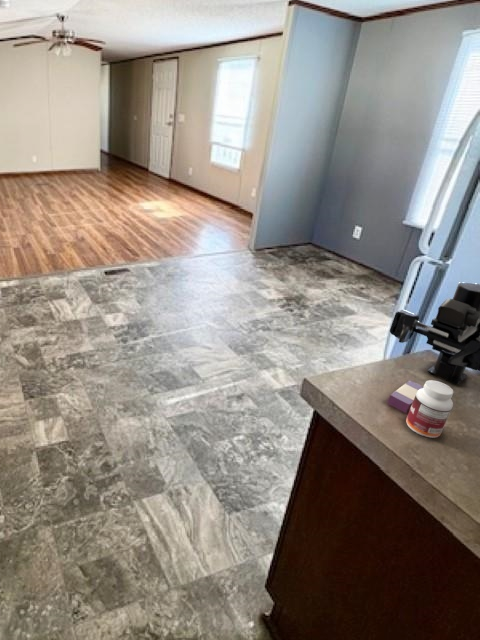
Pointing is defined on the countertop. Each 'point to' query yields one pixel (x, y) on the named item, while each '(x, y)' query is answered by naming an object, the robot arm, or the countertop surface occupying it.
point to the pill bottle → (430, 409)
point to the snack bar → (404, 396)
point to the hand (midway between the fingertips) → (424, 350)
